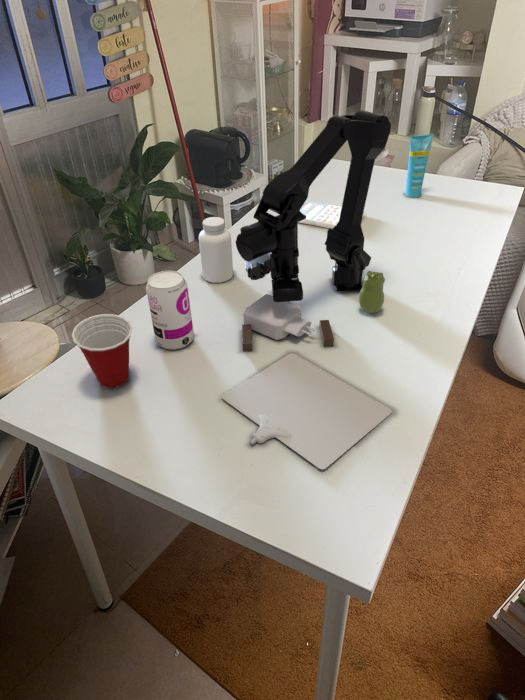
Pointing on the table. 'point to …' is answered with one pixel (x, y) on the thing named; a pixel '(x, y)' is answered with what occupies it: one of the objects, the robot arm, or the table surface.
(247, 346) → the bay
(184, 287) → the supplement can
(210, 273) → the pill bottle
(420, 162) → the tube
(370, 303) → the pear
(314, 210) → the calculator
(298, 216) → the robot arm
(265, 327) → the charger
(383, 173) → the table surface
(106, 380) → the plastic cup
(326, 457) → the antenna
